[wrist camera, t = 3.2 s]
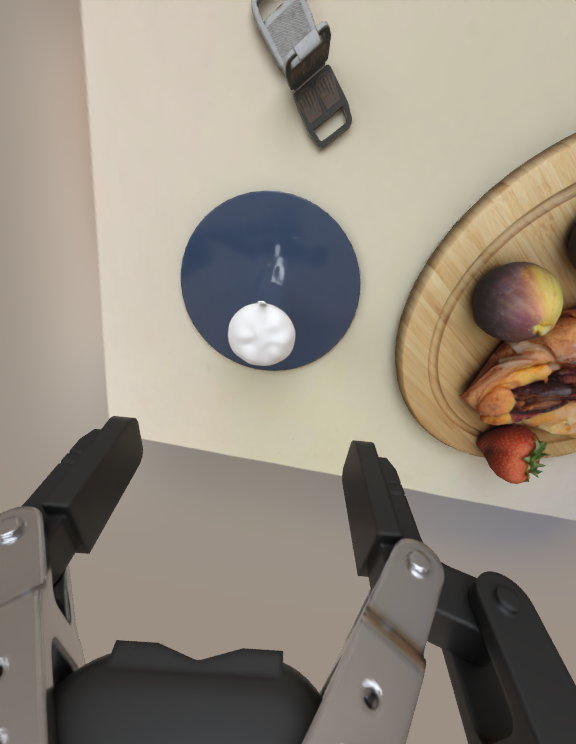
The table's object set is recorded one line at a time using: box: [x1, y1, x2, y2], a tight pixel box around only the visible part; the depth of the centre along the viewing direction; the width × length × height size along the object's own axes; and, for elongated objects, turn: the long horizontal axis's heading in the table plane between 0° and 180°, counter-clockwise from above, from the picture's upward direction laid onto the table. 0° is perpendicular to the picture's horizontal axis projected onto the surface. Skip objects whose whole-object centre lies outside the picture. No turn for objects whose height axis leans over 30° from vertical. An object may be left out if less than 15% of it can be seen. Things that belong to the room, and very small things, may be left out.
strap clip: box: [251, 0, 352, 148], centre depth 18 cm, size 8×3×4 cm, turn 33°
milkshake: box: [228, 281, 295, 366], centre depth 23 cm, size 4×5×10 cm
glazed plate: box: [181, 191, 360, 371], centre depth 27 cm, size 16×16×1 cm
